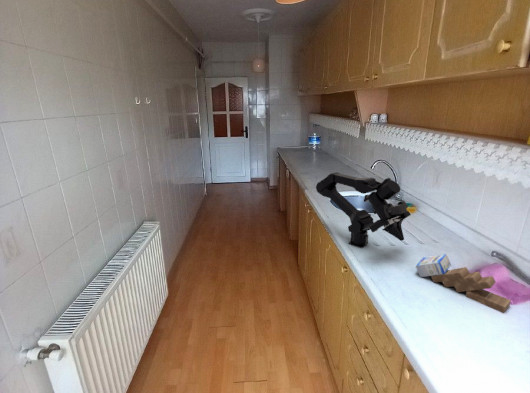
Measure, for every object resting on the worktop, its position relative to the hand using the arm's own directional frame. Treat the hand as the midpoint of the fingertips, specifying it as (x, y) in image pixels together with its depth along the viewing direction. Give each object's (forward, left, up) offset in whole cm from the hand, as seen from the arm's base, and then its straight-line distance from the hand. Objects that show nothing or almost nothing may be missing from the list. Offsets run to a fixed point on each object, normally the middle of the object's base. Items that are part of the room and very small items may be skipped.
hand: (402, 240), depth 113 cm
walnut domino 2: (+17, -4, -9) cm, 20 cm away
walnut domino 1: (+13, -4, -9) cm, 17 cm away
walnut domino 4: (+24, -6, -9) cm, 26 cm away
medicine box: (+8, -2, -8) cm, 11 cm away
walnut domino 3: (+21, -5, -9) cm, 23 cm away
